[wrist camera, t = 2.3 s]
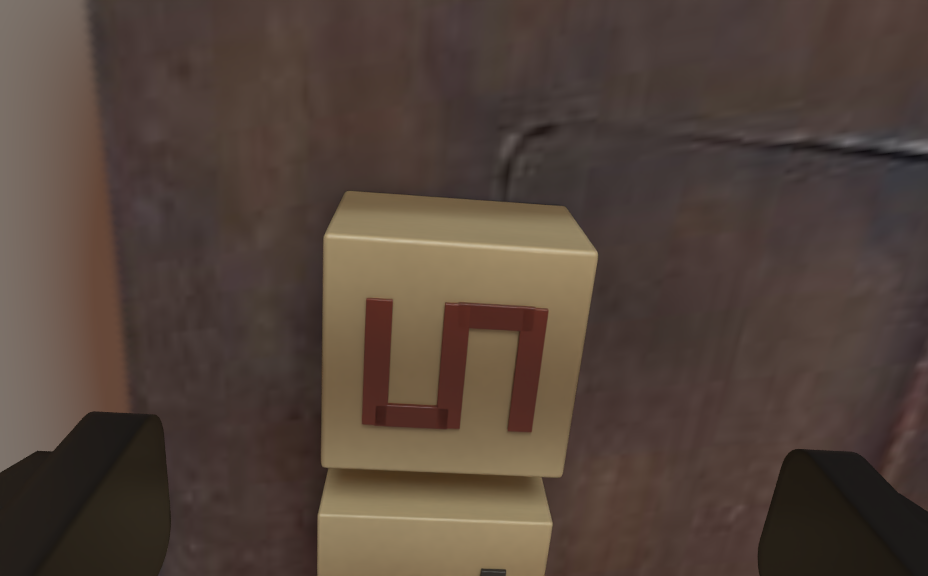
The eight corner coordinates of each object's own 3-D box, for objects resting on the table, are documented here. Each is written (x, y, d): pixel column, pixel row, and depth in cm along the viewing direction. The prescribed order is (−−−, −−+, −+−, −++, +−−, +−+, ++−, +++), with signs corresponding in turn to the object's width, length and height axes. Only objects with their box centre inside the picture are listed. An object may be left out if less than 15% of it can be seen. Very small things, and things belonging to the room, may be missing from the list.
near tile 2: (337, 426, 16) (316, 518, 13) (532, 435, 16) (554, 527, 13) (333, 580, 17) (314, 691, 15) (511, 585, 18) (526, 694, 15)
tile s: (344, 189, 14) (321, 234, 11) (567, 205, 14) (602, 254, 11) (340, 387, 15) (319, 472, 13) (540, 397, 16) (563, 482, 13)
